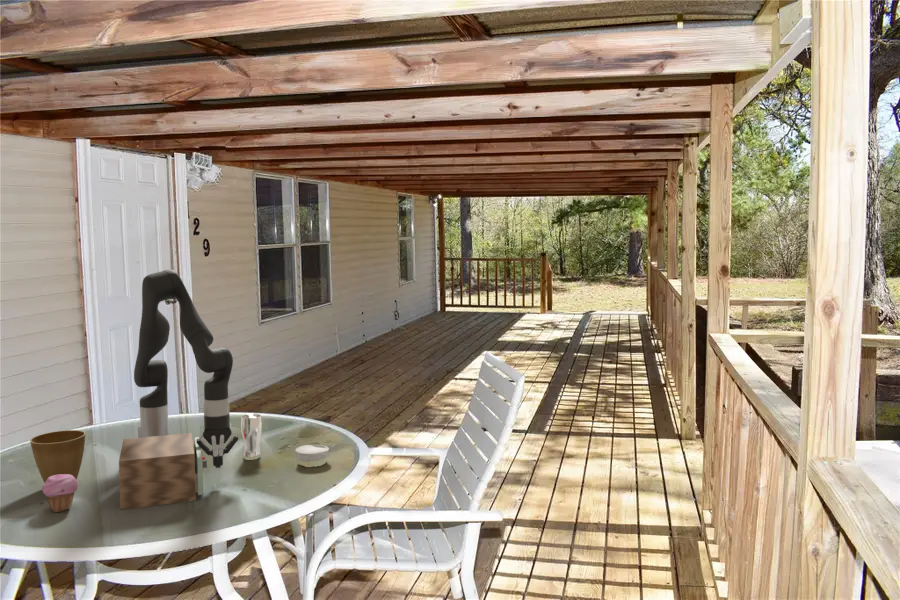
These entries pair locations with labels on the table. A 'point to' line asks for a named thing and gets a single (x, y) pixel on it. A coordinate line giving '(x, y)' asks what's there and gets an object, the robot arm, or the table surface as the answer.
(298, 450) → the ramekin
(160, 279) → the robot arm
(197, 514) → the table surface
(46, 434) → the plant pot
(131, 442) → the wooden drawer cabinet
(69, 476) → the cupcake
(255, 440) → the beer glass
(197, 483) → the drawer
